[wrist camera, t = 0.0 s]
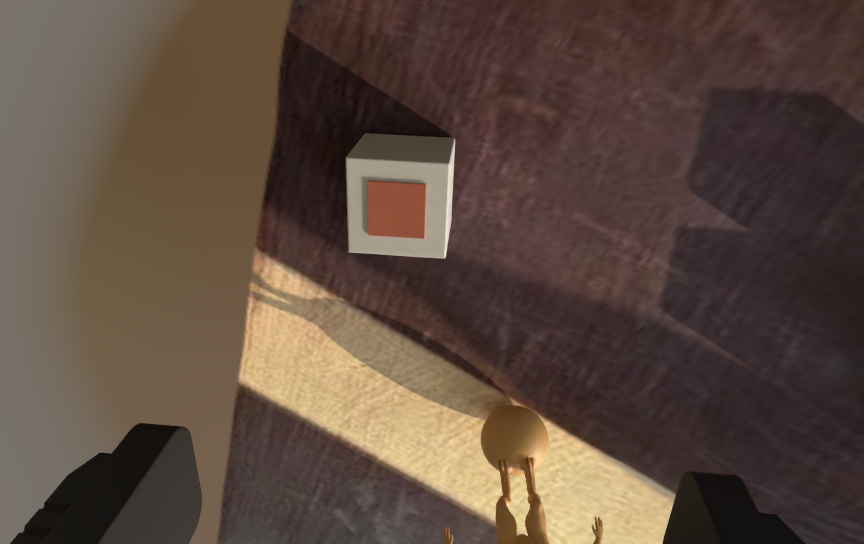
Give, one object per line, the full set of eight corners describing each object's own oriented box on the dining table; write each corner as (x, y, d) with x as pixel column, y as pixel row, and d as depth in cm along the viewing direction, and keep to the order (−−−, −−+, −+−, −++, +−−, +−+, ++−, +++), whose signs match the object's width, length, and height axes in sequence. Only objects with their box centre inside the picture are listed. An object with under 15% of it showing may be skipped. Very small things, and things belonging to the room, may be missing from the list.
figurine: (578, 385, 36) (616, 558, 26) (586, 461, 39) (623, 647, 28) (442, 398, 38) (422, 568, 27) (458, 471, 40) (447, 653, 29)
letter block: (364, 132, 31) (344, 157, 27) (455, 137, 30) (449, 163, 26) (365, 217, 33) (347, 253, 29) (451, 223, 32) (445, 260, 28)
